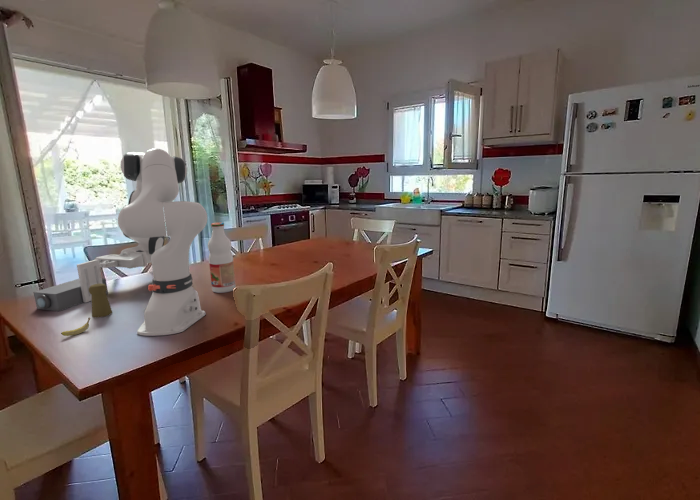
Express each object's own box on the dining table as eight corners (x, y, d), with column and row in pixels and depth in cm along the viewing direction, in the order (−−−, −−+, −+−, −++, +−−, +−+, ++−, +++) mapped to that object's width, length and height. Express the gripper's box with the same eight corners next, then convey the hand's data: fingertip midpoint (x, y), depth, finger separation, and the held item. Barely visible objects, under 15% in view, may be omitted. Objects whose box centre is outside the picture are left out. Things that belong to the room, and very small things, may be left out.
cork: (100, 318, 126) (94, 287, 124) (87, 316, 128) (82, 286, 126) (116, 312, 132) (111, 282, 129) (104, 310, 134) (99, 281, 131)
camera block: (54, 313, 132) (50, 293, 130) (31, 310, 135) (27, 291, 134) (108, 293, 152) (105, 276, 151) (87, 291, 156) (84, 275, 154)
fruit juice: (234, 292, 150) (227, 224, 144) (210, 294, 149) (202, 225, 143) (237, 285, 159) (231, 221, 153) (214, 287, 158) (207, 222, 152)
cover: (86, 302, 142) (79, 264, 138) (83, 302, 142) (76, 264, 139) (105, 295, 149) (99, 259, 146) (102, 295, 150) (96, 259, 146)
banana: (90, 328, 118) (88, 316, 117) (93, 329, 117) (91, 317, 117) (61, 338, 111) (58, 326, 111) (64, 339, 111) (61, 327, 110)
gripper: (111, 250, 163) (81, 257, 150) (148, 251, 157) (120, 259, 144) (113, 263, 164) (84, 272, 151) (150, 266, 159) (123, 274, 146)
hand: (102, 265), depth 148 cm, fingers closed
